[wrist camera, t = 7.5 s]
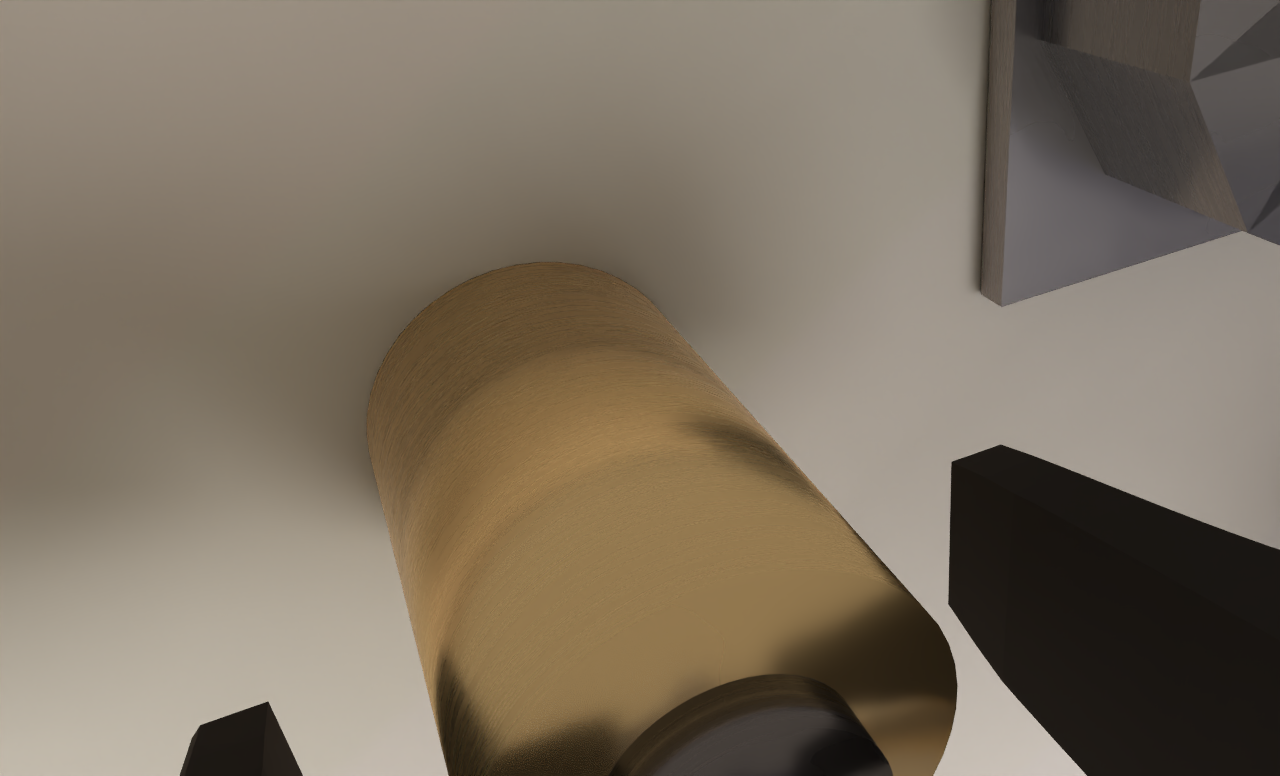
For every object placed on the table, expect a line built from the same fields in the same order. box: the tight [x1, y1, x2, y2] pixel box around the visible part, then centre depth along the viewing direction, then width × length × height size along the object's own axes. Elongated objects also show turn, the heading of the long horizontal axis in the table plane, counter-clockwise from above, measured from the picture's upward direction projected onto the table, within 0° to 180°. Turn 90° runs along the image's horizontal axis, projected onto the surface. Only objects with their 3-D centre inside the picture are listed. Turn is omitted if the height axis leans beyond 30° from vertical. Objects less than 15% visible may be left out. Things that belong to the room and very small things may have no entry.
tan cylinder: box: [367, 262, 957, 776], centre depth 11 cm, size 4×4×7 cm
